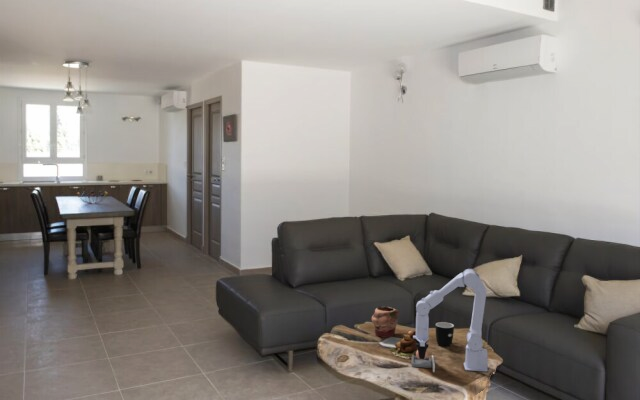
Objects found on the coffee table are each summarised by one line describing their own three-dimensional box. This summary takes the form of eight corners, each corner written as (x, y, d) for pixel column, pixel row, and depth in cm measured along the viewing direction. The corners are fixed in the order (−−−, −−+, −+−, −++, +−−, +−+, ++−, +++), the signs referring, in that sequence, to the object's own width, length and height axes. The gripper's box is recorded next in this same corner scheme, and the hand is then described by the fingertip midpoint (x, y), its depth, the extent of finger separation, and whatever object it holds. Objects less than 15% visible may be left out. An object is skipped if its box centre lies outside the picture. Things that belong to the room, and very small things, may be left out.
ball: (426, 357, 250) (427, 347, 249) (427, 361, 245) (427, 350, 244) (415, 356, 250) (416, 346, 250) (415, 360, 245) (416, 350, 245)
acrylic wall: (433, 361, 250) (433, 355, 250) (434, 372, 238) (434, 365, 238) (431, 361, 250) (431, 355, 250) (433, 372, 238) (433, 365, 238)
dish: (430, 360, 251) (430, 357, 251) (431, 367, 243) (431, 364, 243) (411, 359, 253) (411, 356, 252) (411, 366, 244) (412, 363, 244)
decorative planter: (387, 326, 299) (387, 302, 298) (406, 331, 291) (406, 306, 290) (365, 336, 284) (366, 310, 283) (384, 341, 276) (385, 314, 275)
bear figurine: (402, 346, 270) (402, 322, 269) (428, 353, 260) (428, 329, 259) (386, 353, 260) (386, 328, 259) (412, 361, 250) (413, 336, 249)
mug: (448, 349, 266) (448, 329, 265) (431, 344, 272) (432, 325, 271) (459, 342, 275) (459, 323, 274) (442, 338, 281) (443, 319, 280)
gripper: (412, 321, 254) (412, 350, 255) (413, 332, 240) (412, 361, 241) (428, 322, 253) (427, 350, 254) (429, 332, 239) (429, 362, 240)
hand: (421, 356), depth 247 cm, fingers closed on ball, 5 cm apart
